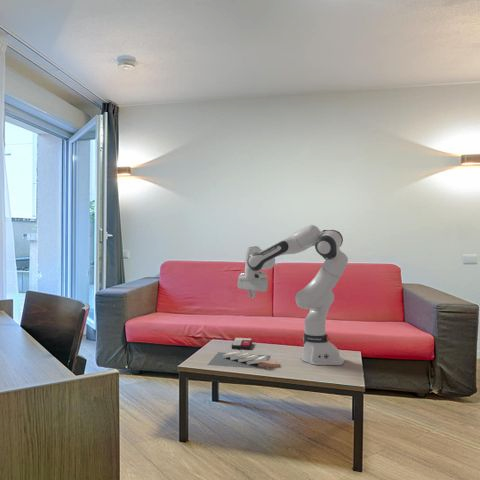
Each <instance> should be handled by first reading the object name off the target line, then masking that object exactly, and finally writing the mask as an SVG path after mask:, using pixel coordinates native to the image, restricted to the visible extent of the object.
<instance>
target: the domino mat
mask: <svg viewBox="0 0 480 480" xmlns="http://www.w3.org/2000/svg"><path fill="white" fill-rule="evenodd" d="M228 353H229V352H217V353H216V354H215V356H213V358H211V360H210V361H209V363H207V366H219V367H233V368H246V369H259V370H266V369H267V367H259V366H258V363H254V364H249V365H247V363H246V362H247V361H244V362H238V359H235V360H230V357H227V358H223V356H222V355H224V354H228ZM252 355H253V354H251V353H250V356H252ZM263 356H267V358H268V359H266V360H265V361H270V359H271V355H267V354H266V355H265V354H258V357H263Z"/></svg>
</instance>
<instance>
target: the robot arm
mask: <svg viewBox="0 0 480 480" xmlns="http://www.w3.org/2000/svg"><path fill="white" fill-rule="evenodd" d="M343 241H344V239H343V235H342V234H341V232H340V231H338V230H335V229H323V230H321V229H320V228H319V227H318V226H316V225H314V224H310V225H306V226H304V227H302V228H299V229H298V230H296V231H294V232H293V233H291V234H290V235H288V236H287V237H285V238H284V239H282V240H281V241H278V242H276V243H275V244H273V245H271V246H269V247H268V248H265V249H261V248H260V246H258V245H257V246H254V245H253V246H249V247H247V248H246V249H245V253H244V263H245V267H244V273H239V275H238V279H237V288H238V290H247V293H248V297H249V298H250V299H255V298H256V294H257V292H263V293H265V292H267V291H268V287H269V286H268V274H267V273H265V272H262V271H263V270H270V269H272V268H274V266H275V264H276V263H275V262H276V259H275V258H277V257H279V256H284V255H294V254H298V253H299V254H300V253H301V252H302V253H303V252H305V251H307V249H309V248H311V247H314V248H315V250H316V251H315V252H317V254H319V255H320V256H321V257H322V258H323V259H324V260H325V261H324V262H323V263H322V265H321V267H320V269H319V270H318V272H317V273H316V274H315V276H314V278H312V280H311V281H310V282H309V283H308V284H307V285H306V286H305V287H303V288H301V289H300V290H299V291H297V293H296V294H295V297H294V298H295V304H296V305H297V307H298V308H300V309H303V310H309V312H308V313H307V315H306V316H305V318H304V332H303V339H302V340H303V350H302V354H301V359H300V360H302V361H304V362H306V363H309V364H311V365H314V366H317V365H318V366H341V365H343V364H344V363H345V360H344V358H343V357H342V356H341V354H340V351H339V349H338V348H337V346H336V345H334V344H333V343H332V342H331V341H330V340H331V337H330V335H328V334H327V333H326V321H327V320H326V319H327V316H328V313H329V310H330V307H331V306H332V305H333V303H334V301H335V294H334V292H333V289H334V288H335V287H336V285H337V283H338V282H339V281H340V279H341V277H342V275H343V274H344V271H345V270H346V268H347V265H348V263H349V259H348V255H347V254H346V253H345V252H342V250H341V247H342V245H343Z"/></svg>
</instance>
